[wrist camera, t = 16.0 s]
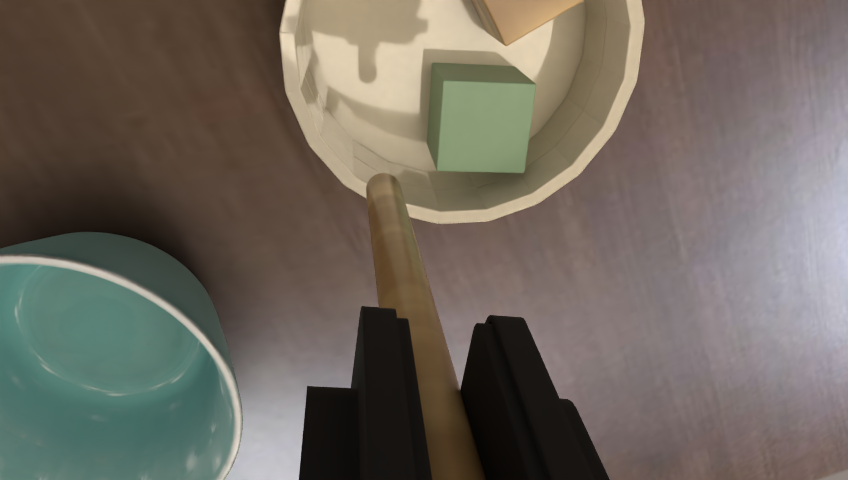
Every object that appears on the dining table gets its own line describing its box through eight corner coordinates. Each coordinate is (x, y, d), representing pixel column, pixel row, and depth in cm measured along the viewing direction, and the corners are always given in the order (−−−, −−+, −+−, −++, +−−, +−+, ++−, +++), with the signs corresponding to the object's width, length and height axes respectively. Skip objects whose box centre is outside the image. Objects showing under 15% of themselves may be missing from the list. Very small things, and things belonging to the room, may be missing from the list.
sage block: (431, 62, 30) (443, 80, 26) (514, 65, 31) (536, 83, 27) (426, 144, 32) (436, 171, 28) (505, 146, 32) (524, 173, 29)
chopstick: (359, 181, 22) (412, 798, 5) (391, 166, 22) (549, 741, 5) (375, 211, 22) (468, 867, 6) (406, 197, 22) (596, 817, 6)
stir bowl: (227, 4, 29) (199, 21, 23) (484, -219, 26) (519, -257, 21) (416, 226, 35) (428, 281, 29) (642, 62, 32) (701, 89, 27)
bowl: (176, 465, 40) (137, 586, 32) (-90, 348, 34) (-210, 462, 27) (319, 284, 35) (311, 377, 28) (38, 118, 30) (-63, 179, 23)
